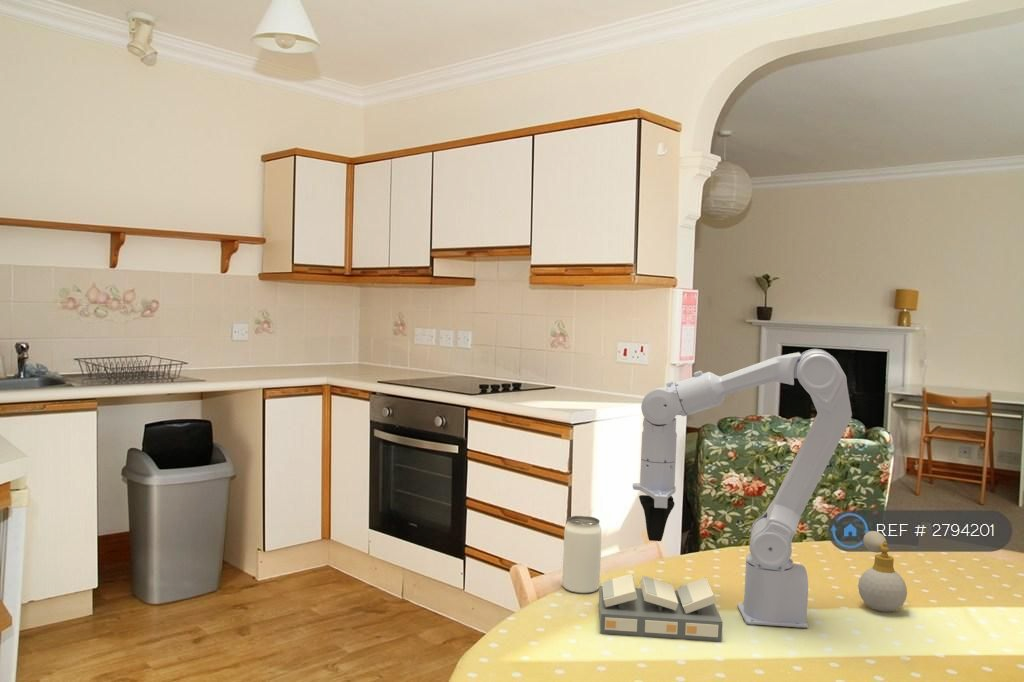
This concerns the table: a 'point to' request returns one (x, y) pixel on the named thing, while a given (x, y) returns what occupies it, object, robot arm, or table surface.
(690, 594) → the rocker
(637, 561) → the table surface
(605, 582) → the rocker
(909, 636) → the table surface
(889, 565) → the perfume bottle
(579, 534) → the can
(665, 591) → the rocker mid
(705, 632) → the switch box
